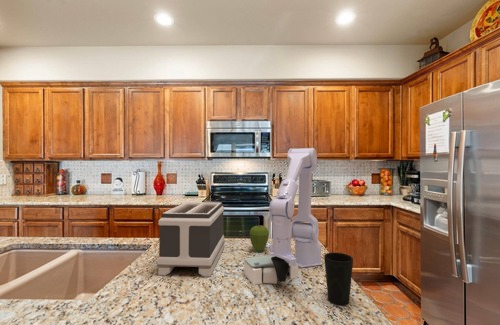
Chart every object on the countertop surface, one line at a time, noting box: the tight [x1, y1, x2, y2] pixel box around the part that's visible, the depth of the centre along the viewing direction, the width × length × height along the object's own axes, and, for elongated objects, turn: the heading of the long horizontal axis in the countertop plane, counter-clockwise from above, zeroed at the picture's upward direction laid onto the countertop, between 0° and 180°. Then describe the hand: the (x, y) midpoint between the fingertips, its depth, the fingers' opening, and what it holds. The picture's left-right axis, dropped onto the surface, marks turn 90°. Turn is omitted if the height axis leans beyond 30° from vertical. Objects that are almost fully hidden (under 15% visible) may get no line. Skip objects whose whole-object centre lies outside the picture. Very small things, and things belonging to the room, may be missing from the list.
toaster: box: [156, 201, 225, 278], centre depth 104 cm, size 18×34×21 cm, turn 177°
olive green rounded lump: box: [249, 224, 270, 253], centre depth 114 cm, size 9×8×12 cm
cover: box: [243, 254, 275, 267], centre depth 89 cm, size 16×8×1 cm, turn 110°
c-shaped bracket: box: [243, 259, 299, 286], centre depth 88 cm, size 16×9×5 cm, turn 110°
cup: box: [323, 252, 354, 307], centre depth 72 cm, size 8×8×12 cm
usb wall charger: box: [262, 267, 278, 285], centre depth 83 cm, size 4×7×4 cm, turn 85°
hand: (281, 281), depth 81 cm, fingers closed
